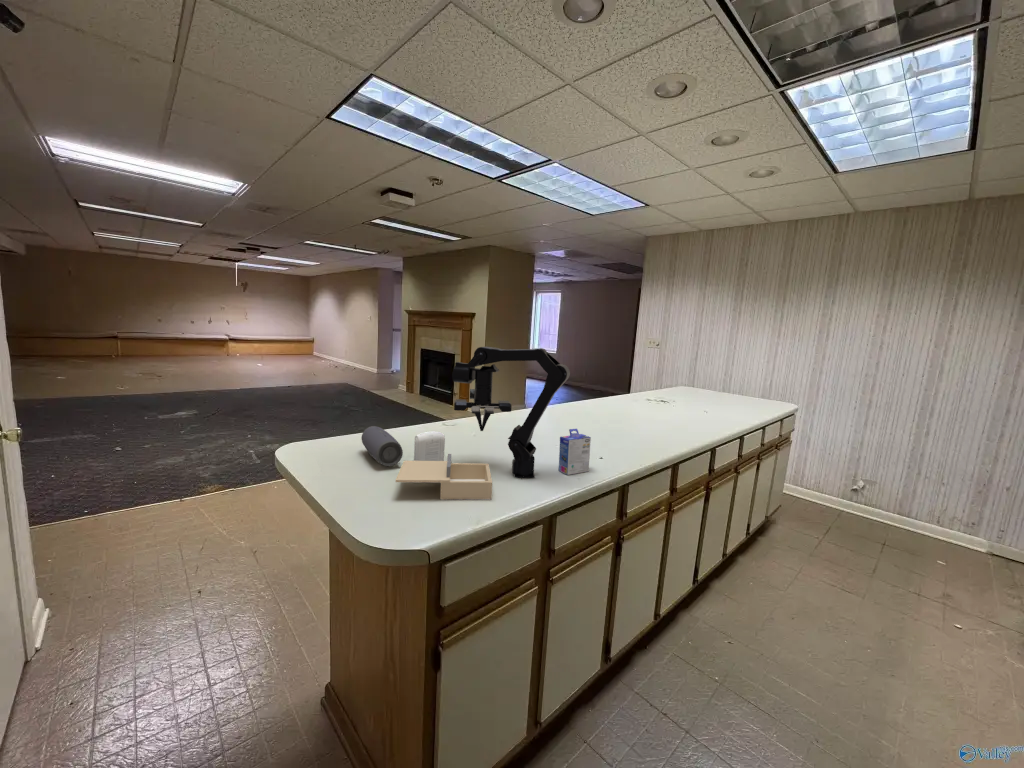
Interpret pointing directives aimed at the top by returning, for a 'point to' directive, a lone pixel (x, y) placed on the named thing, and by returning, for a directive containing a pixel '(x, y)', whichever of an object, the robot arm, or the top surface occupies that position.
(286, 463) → the top surface
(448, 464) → the lid
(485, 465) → the mailer box
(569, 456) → the ink cartridge box
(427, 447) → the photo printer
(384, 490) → the top surface
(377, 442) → the bluetooth speaker
